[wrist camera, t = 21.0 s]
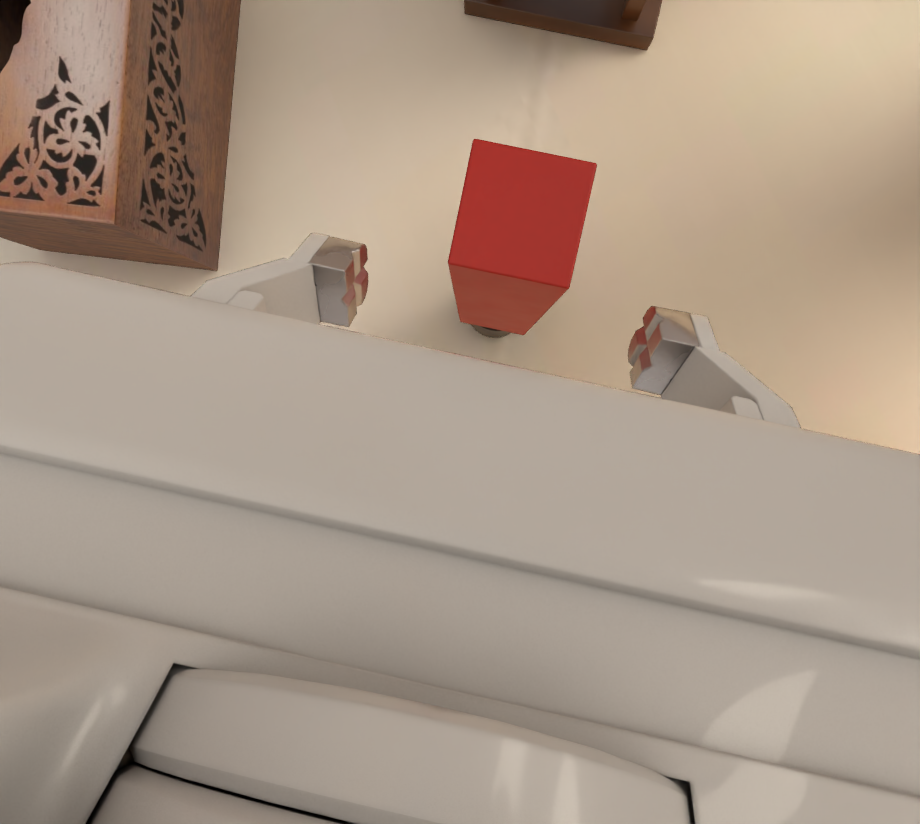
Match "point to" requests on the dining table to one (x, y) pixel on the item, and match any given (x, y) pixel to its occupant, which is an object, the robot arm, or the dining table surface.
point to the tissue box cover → (116, 126)
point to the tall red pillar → (516, 235)
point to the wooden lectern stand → (578, 17)
